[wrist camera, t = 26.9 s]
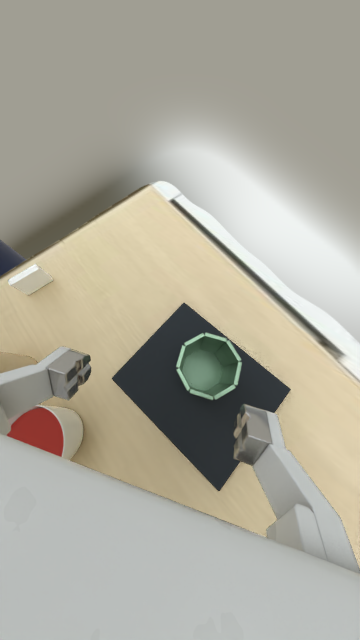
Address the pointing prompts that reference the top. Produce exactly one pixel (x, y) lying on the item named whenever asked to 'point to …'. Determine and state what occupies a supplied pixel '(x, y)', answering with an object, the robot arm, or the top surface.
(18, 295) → the top surface
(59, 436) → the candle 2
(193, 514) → the robot arm
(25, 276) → the eraser
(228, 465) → the mat
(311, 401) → the top surface
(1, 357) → the candle
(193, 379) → the bucket
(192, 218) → the top surface
